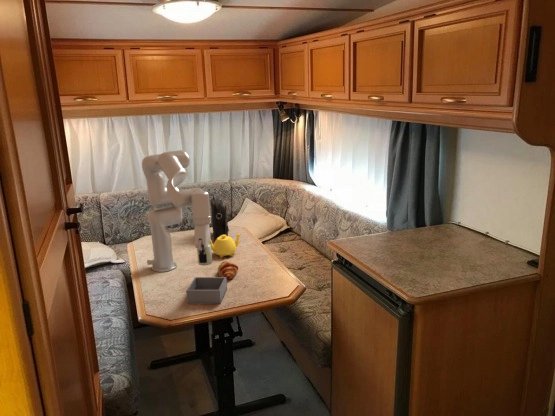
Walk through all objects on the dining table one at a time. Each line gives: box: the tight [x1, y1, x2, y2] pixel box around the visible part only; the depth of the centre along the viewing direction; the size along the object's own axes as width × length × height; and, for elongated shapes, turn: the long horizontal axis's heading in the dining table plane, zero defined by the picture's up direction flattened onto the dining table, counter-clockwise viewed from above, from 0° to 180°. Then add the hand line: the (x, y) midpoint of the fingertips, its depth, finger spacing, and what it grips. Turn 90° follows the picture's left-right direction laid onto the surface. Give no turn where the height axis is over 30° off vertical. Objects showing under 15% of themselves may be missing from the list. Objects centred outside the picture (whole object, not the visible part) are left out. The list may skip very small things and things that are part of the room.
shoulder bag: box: [210, 193, 230, 242], centre depth 284 cm, size 23×9×28 cm, turn 15°
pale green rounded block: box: [196, 244, 213, 267], centre depth 199 cm, size 6×6×8 cm
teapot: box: [209, 232, 242, 259], centre depth 255 cm, size 20×15×12 cm
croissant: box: [217, 260, 239, 280], centre depth 228 cm, size 21×10×8 cm, turn 9°
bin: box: [185, 276, 228, 305], centre depth 203 cm, size 15×15×6 cm
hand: (205, 259), depth 200 cm, fingers closed on pale green rounded block, 6 cm apart
